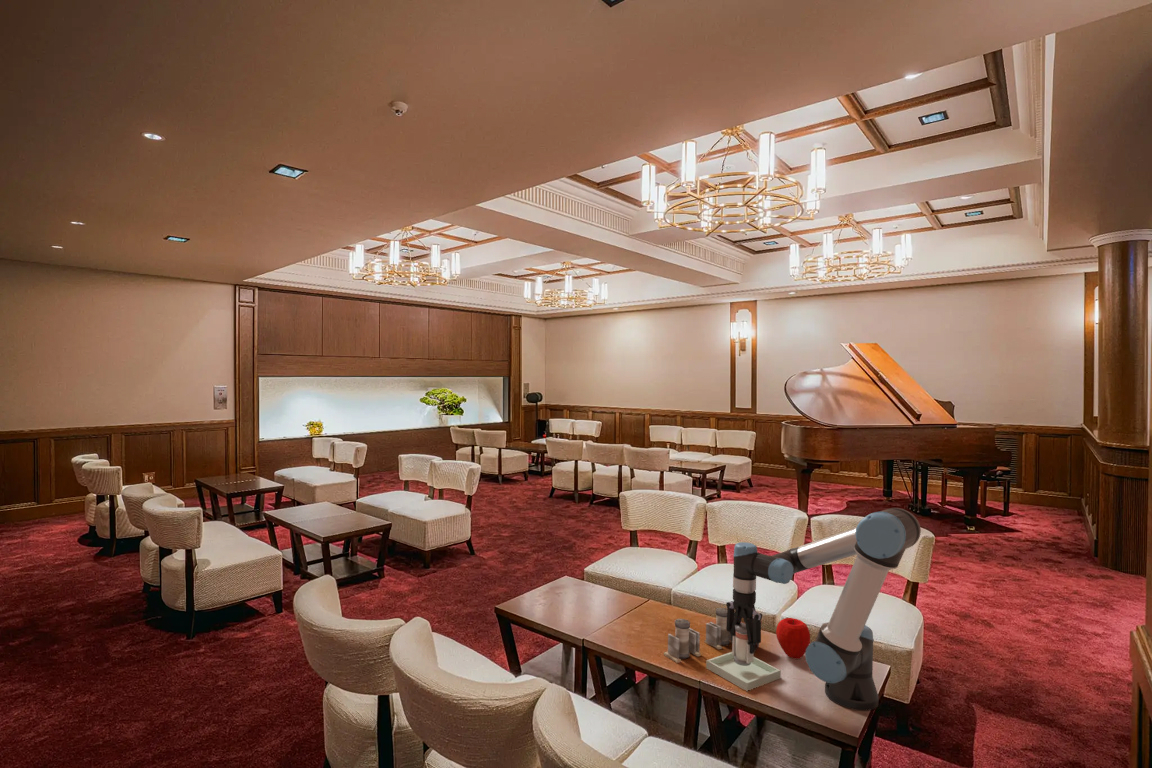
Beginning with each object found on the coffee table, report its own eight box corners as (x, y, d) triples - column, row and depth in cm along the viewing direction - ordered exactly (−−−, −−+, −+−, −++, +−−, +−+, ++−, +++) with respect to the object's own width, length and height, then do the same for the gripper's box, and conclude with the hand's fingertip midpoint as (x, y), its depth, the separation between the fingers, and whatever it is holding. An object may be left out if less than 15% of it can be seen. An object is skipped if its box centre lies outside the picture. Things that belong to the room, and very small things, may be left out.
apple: (768, 650, 208) (769, 614, 208) (796, 647, 211) (797, 611, 211) (788, 665, 197) (789, 627, 197) (817, 662, 200) (818, 624, 200)
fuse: (754, 663, 190) (755, 627, 190) (743, 667, 187) (744, 631, 187) (741, 656, 195) (742, 621, 195) (730, 660, 192) (731, 625, 192)
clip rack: (739, 642, 214) (740, 611, 214) (677, 663, 197) (677, 628, 197) (725, 635, 220) (726, 604, 220) (663, 655, 203) (664, 621, 203)
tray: (780, 678, 188) (780, 670, 188) (747, 691, 179) (747, 683, 179) (738, 656, 203) (739, 649, 203) (706, 668, 194) (706, 660, 194)
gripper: (774, 596, 186) (772, 667, 185) (731, 579, 201) (729, 645, 201) (759, 600, 182) (757, 672, 181) (716, 583, 197) (714, 649, 197)
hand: (742, 658), depth 191 cm, fingers closed on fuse, 5 cm apart
